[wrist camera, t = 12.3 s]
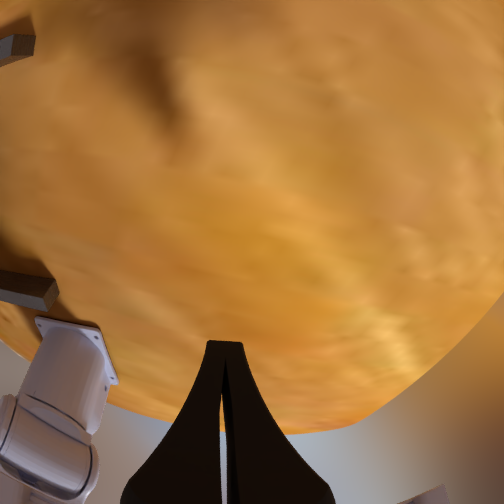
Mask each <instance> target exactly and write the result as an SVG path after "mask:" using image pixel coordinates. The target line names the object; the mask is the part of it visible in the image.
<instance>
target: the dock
mask: <svg viewBox="0 0 504 504" xmlns="http://www.w3.org/2000/svg"><path fill="white" fill-rule="evenodd" d="M35 37H36V36H31V35H20V34H13V35H10V36H8V37H6V38H4V39H1V40H0V67H2V66H4V65H7V64H9V63H12V62H15V61H18V60H21V59H24V58H27V57H30V56H33V51H34V44H35ZM58 295H59V290H58V287H57V283H56V280H55V279H49V278H42V277H36V276H30V275H24V274H19V273H13V272H8V271H2V270H0V301H4V302H8V303H12V304H16V305H20V306H24V307H28V308H32V309H37V310H41V311H46V312H48V311H49V310H50V308H51V306H52V305H53V303H54V301H55V300H56V298H57V296H58Z"/></svg>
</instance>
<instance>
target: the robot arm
mask: <svg viewBox="0 0 504 504" xmlns="http://www.w3.org/2000/svg"><path fill="white" fill-rule="evenodd" d="M34 320H35V323H36V325H37V327H38V329H39V331H40V333H41V335H42V337H43V340H42V342H41V344H40V346H39V348H38V350H37V352H36V354H35V357H34V359H33V361H32V363H31V365H30V367H29V369H28V372H27V374H26V376H25V379H24V381H23V383H22V385H21V388H20V390H19V392H18V395H17V396H16V397H14V396H13V395H12V394H8V395H5V396H2V398H1V399H0V504H84V502H85V500H86V498H87V496H88V495H89V493H90V492H91V491H92V490H93V489H94V487H95V485H96V483H97V480H98V476H99V471H100V462H99V456H98V454H97V450H96V448H95V446H94V445H93V444H92V443H91V438H92V434H94V433H95V432H96V431H97V429H98V428H99V426H100V423H101V419H102V415H103V411H104V407H105V403H106V399H107V395H108V392H109V388H110V384H113V385H118V384H119V380H118V378H117V375H116V373H115V370H114V368H113V365H112V362H111V360H110V357H109V354H108V352H107V349H106V346H105V343H104V340H103V337H102V334H101V332H100V330H99V329H97V328H93V327H88V326H82V325H77V324H72V323H67V322H62V321H57V320H53V319H48V318H44V317H40V316H36V317H35V319H34ZM221 395H222V401H223V412H224V422H225V432H226V445H227V504H336V503H335V499H334V496H333V493H332V491H331V489H330V487H329V485H328V484H327V483H326V482H325V481H324V480H323V479H322V478H321V477H320V476H319V475H318V474H317V473H316V472H315V471H314V470H313V469H312V468H311V467H310V466H309V465H308V464H307V463H306V462H305V461H304V459H303V458H302V457H301V456H300V455H299V454H298V452H297V451H296V450H295V448H294V447H293V446H292V445H291V444H290V442H289V441H288V440H287V438H286V437H285V435H284V434H283V432H282V431H281V430H280V428H279V426H278V425H277V423H276V422H275V420H274V419H273V417H272V415H271V413H270V412H269V410H268V408H267V406H266V404H265V402H264V400H263V398H262V396H261V394H260V392H259V390H258V388H257V385H256V383H255V381H254V378H253V376H252V373H251V371H250V368H249V365H248V362H247V359H246V355H245V351H244V347H243V344H242V343H241V342H232V341H216V340H209V341H207V345H206V350H205V354H204V358H203V361H202V364H201V367H200V370H199V372H198V375H197V377H196V380H195V382H194V385H193V387H192V389H191V391H190V393H189V395H188V397H187V399H186V401H185V403H184V405H183V407H182V409H181V411H180V412H179V414H178V416H177V418H176V419H175V421H174V423H173V424H172V426H171V428H170V429H169V430H168V432H167V434H166V435H165V437H164V438H163V439H162V441H161V442H160V444H159V445H158V446H157V448H156V449H155V450H154V452H153V453H152V454H151V455H150V457H149V458H148V459H147V460H146V462H145V463H144V464H143V465H142V466H141V467H140V468H139V469H138V471H137V472H136V473H135V474H134V475H133V476H132V477H131V478H130V479H129V481H128V483H127V484H126V486H125V488H124V491H123V493H122V496H121V499H120V504H222V492H221V468H220V416H219V412H220V403H221ZM398 504H449V500H448V496H447V492H446V489H445V485H444V484H441V485H439V486H437V487H435V488H433V489H431V490H429V491H426V492H424V493H422V494H420V495H417V496H415V497H413V498H411V499H408V500H405V501H403V502H400V503H398Z"/></svg>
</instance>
